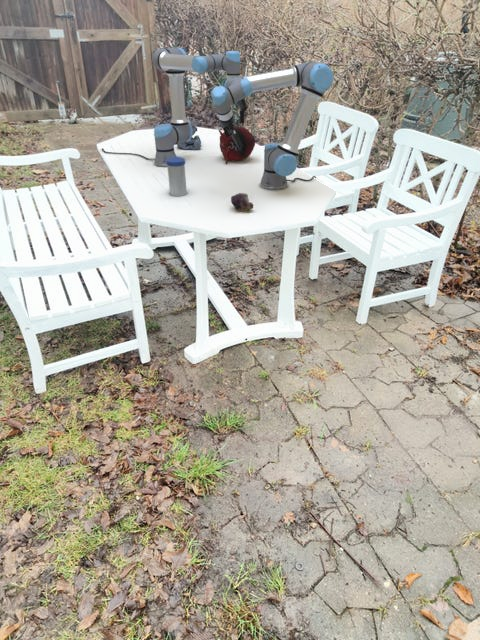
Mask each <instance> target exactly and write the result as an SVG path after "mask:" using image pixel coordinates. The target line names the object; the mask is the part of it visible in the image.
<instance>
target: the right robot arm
mask: <svg viewBox="0 0 480 640" xmlns="http://www.w3.org/2000/svg"><path fill="white" fill-rule="evenodd" d="M333 83H334V72H333V70H332V68H331V67H330V66H329V65H328V64H325V63H323V62H318V61H307V62H306V61H305V62H303V63H298V64H294V65H291V66H290V68H285V69H284V68H283V69H280V70H279V69H278V70H273V71H268V72H262V73H256V74H251V75H244V76H240V77H239V78H229V79H227V78H226V80H225V82H224V86H223V85H217V86H215V87H214V88H213V89H212V90H211V93H210V95H211V99H212V103H213V107H214V110H215V113H216V117H217V118H218V121H219V125H220V126H221V127H222V131H223V132H224V133H225V136H226V138H227V137H229V136H230V135H231V136H232V138H233V140H234V142H235V144H236V148H237V152H238V154H240V153H242V152H243V150H242V146H243V145H242V143H241V140H240V138H239V136H238V133H237V130H236V129H235V128H234V127H235V125H234V123H235V116H234V112H233V109H232V105H234V104H237V102H238V101H240V100H242V99H246V98H248V97H249V96H251V95H252V94H253V93H256V92H261V91H268V90H273V89H278V88H279V89H280V88H284V87H290V86H292V87H293V88H296V87H300V91H301V95H300V97H299V100H298V102H297V105H296V108H295V109H294V113H293V115H292V117H291V119H290V122H289V125H288V127H287V129H286V133H285V135H284V138H283V139H282V142H270V143H266V144H265V145H264V149H263V155H264V156H263V158H264V159H263V173H262V177H261V179H260V187H261V188H263V189H265V190H270V191H277V190H283V189H286V188H288V182H291V183H294V182H295V181H296V180H300V181H304V182H310V181H312V180H313V179H317V176H316V175H313V176H312V177H311V178H310V179H305V178H302V177H301V178H300V177H295V178H293V180H292V179H287V177H288V176H291V175H292V174H294V173H295V171H296V170H297V169H298V156H299V154H300V152H299V147H300V144H301V141H302V140H303V137H304V135H305V132H306V129H307V127H308V126H309V123H310V121H311V118H312V115H313V113H314V111H315V108H316V106H317V103H318V102H319V101H320V100H321V99H323V97H324V96H325V92H327V91H329V89H330V88H331V87H332V85H333ZM230 132H231V133H230ZM312 235H313V236H314V235H315V232H313V233H312Z"/></svg>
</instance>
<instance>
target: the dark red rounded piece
mask: <svg viewBox="0 0 480 640" xmlns="http://www.w3.org/2000/svg"><path fill="white" fill-rule="evenodd" d="M234 128H235V129H236V130H237V133H238V136H239V138H240V140H241V143H242V145H243V146H242V150H243V152H242V153H240V154H238V152H237V148H236V144H235V142H234V140H233V138H232V136H231V135H230V136H229V137H227V138H226V136H225V133H224V131H222V130H220V129H218V133H219V135H220V136H219V150H220V152H221V154H222V157H223V158H224V160H225V165H227V164H228V161H230V162H242V161H244V160H246V159H248V158H249V157H250V156H251V155H252V153H253V151H254V149H255V147H256V142H257V141H256V137H255V135H254V134H253V133H251V131H249V130H248V129H247V128H246V127H243V126H234ZM230 133H231V132H230Z"/></svg>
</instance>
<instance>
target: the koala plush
mask: <svg viewBox="0 0 480 640" xmlns="http://www.w3.org/2000/svg"><path fill="white" fill-rule="evenodd" d="M186 119H187V120H188V123H189V124H190V125H191V127H192V129H193V135H192V138H191V139H190V140H189V141H188V142H185V143H180V144H176V146H177V148H179V149H182V150H195V151H197V150H200V149H201V148H202V141H201V137H200V136H199V135H195V134H196V133H197V132H198V127H197V126H196V125H195V123H194V122H193V121H192V120H191V119H190V118H188V117H186Z"/></svg>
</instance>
